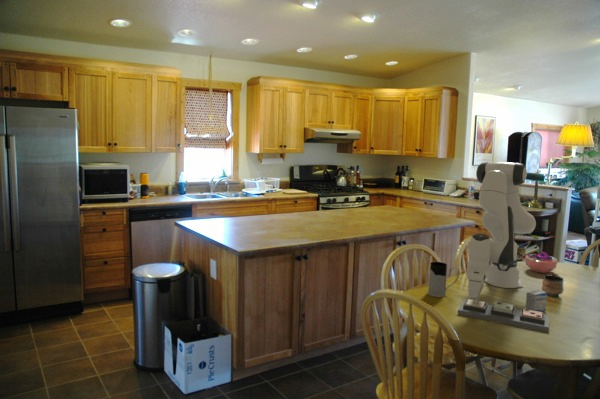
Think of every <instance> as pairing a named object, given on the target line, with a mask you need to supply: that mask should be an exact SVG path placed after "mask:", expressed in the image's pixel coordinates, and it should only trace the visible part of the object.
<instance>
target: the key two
mask: <svg viewBox="0 0 600 399" xmlns="http://www.w3.org/2000/svg"><path fill="white" fill-rule="evenodd" d="M493 304H494V311H500V312H505V313H510V314H512V311H513V308H514V304H512V303H507V302H506V303H505V302H501V301H496V300H495V302H494V303H493Z"/></svg>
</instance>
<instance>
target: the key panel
mask: <svg viewBox="0 0 600 399" xmlns="http://www.w3.org/2000/svg"><path fill="white" fill-rule="evenodd" d="M468 299H469V298H466V299H463V300H462V302H461V304H460V306H459V307H458V308H457V315H461V316H464V317H471V318H474V319H479V320H485V321H490V322H496V323H499V324H505V325H510V326H515V327H520V328H526V329H530V330H535V331H539V332H546V333H549V329H550V322H549V321H550V320H549V319H550V316H549V315H547V314H545V313H546V312H545V313H544V312H542V319H537V318H532V317H526V316H523V309H524V308H521V309H516V307H513V311H512V314H510V313H505V312H500V311H494V304H495V303H493V304H489V303H488V302H486V301H484V302H485V308H478V307H473V306H468V305H466V303H467V301H468Z"/></svg>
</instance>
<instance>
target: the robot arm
mask: <svg viewBox="0 0 600 399" xmlns="http://www.w3.org/2000/svg"><path fill="white" fill-rule="evenodd" d="M475 174H476V175H475V176H476V180H477V181H478V183H479V184H481V187H480V191H479V196H478V197H479V199H478V201H479V202H478V203H479V205H480V207H481V208H482V210H483V211H484V213H483V214H482V216H481V224H482V225H483V227H484V228H485V229H486V230H487V231H488V232H489V234H490V235H491V237H492V238H491V237H490V236H489V235H488V234H485V233H475V234H473V235H472V236H471V237H470V240H469V242H470V243H469V245H468V250H467V251H468V252H467V253H468V262H467V268H466V275H467V276H466V279H467V280H468V283H467V284H468V289H467V290H468V292H467V293H468V299H471V300H473V303H474V304H477V303H478V301H479V299H480V295H481V293H482V291H483V289H484V286H485V283H487V284H489V285H491V286H494V287H498V288H504V289H516V288H523V284H522V282H521V280H520V278H521V277H520V270H519V269H518V268H517V266H518V259H517V256H518V243H517V242H516V241H515V234H518V235H524V234H525V235H526V234H529V235H530V234H531V233H533V231H534V230H535V229H536V226H537V221H536V219H535V217H534V215H533V214H531V213H529V212H528V211H527V210H526V209H525V208H524V206H523V205H522V203H521V199H520V190H519V186H520V185H523V184H524V183H525V181H526V179H527V176H528V171H527V167H526V166H525V165H524V164H523V163H520V162H509V161H496V162H494V161H493V162H481V163H479V165H478V166H477V168H476V173H475Z"/></svg>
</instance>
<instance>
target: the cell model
mask: <svg viewBox="0 0 600 399" xmlns="http://www.w3.org/2000/svg"><path fill="white" fill-rule="evenodd" d="M524 258H525V260H524V262H525V265H526V266H527V267H528V268H529V269H530V270H532V271H533V272H535V273H542V274H546V273H550V272H552V271H555V269H556V268H557V266H558V263H559V262H558V258H557V257H555V256H553V255H552V256H551V255H549V254H548V253H547V252H545V251H540V252H538V253H529V254H525V257H524Z"/></svg>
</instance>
